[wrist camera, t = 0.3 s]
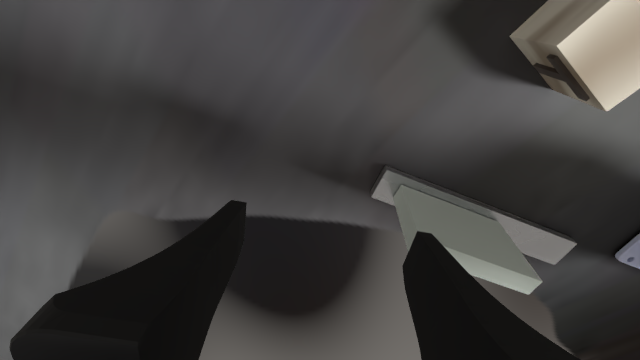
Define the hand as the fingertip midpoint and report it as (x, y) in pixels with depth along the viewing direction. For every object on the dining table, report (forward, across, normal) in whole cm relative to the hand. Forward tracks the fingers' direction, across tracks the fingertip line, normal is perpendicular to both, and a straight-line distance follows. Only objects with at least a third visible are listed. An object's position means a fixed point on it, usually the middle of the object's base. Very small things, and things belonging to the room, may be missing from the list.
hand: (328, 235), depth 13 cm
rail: (+10, -12, +4) cm, 15 cm away
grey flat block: (+10, -9, +3) cm, 13 cm away
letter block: (+10, -12, -9) cm, 18 cm away
